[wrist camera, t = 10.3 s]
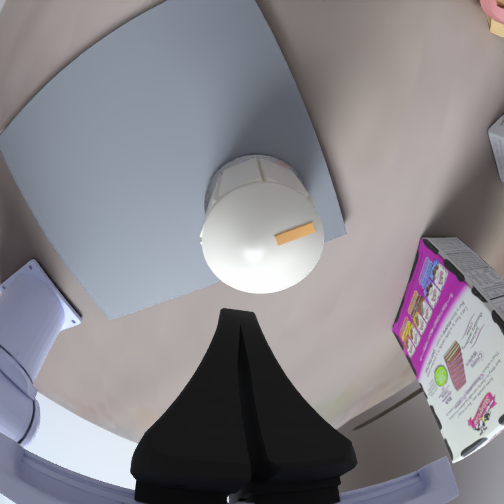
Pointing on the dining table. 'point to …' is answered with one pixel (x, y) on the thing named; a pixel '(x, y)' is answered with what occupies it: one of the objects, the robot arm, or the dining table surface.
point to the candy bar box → (456, 341)
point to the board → (158, 146)
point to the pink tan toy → (494, 15)
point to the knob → (261, 228)
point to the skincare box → (498, 144)
